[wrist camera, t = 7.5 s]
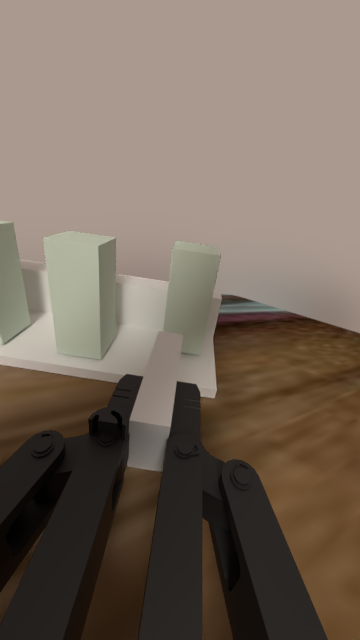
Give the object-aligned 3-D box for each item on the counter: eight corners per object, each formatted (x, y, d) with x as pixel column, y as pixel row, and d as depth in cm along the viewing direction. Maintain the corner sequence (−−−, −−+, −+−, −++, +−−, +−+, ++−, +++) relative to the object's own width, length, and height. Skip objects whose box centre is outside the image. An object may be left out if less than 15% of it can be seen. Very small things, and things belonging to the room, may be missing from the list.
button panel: (210, 332, 31) (220, 289, 29) (214, 398, 21) (229, 340, 18) (21, 303, 32) (12, 257, 29) (-65, 354, 21) (-91, 290, 19)
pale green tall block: (200, 335, 28) (218, 246, 23) (200, 355, 24) (220, 255, 20) (166, 329, 28) (177, 240, 23) (161, 349, 24) (172, 248, 20)
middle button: (115, 336, 25) (116, 237, 21) (100, 359, 22) (98, 246, 17) (77, 331, 25) (70, 230, 21) (57, 352, 22) (42, 237, 17)
